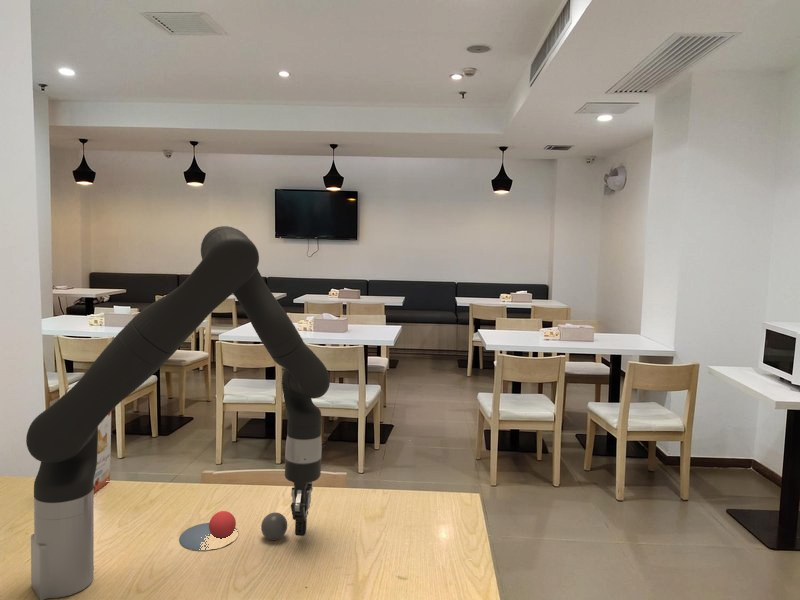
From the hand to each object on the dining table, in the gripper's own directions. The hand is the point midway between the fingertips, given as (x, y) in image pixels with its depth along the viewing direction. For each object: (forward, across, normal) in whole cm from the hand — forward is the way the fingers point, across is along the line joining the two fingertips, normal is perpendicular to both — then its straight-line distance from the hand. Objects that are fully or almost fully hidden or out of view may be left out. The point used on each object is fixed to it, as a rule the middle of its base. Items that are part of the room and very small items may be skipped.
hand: (300, 533), depth 125 cm
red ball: (-1, 0, +17) cm, 17 cm away
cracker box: (+2, +18, +56) cm, 59 cm away
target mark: (+2, 0, +20) cm, 20 cm away
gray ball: (-1, 0, +6) cm, 6 cm away
